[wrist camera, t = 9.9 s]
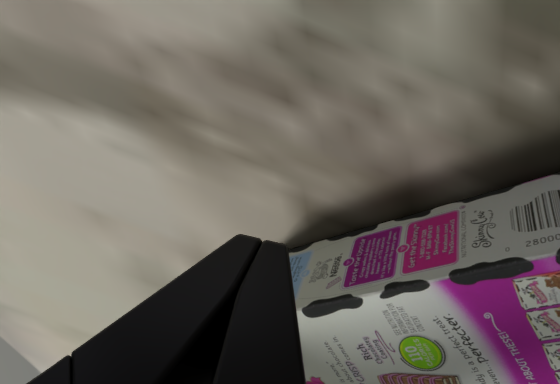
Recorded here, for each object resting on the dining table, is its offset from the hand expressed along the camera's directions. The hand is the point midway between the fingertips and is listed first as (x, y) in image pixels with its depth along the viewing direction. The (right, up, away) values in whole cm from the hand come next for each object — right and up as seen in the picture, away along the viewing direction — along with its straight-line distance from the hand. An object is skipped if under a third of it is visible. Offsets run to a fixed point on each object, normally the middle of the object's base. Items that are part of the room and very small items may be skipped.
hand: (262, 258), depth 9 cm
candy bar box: (+15, -3, +10) cm, 18 cm away
